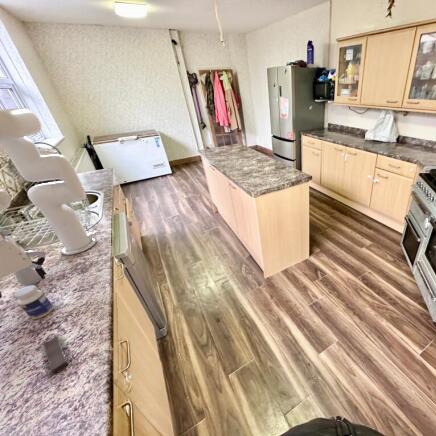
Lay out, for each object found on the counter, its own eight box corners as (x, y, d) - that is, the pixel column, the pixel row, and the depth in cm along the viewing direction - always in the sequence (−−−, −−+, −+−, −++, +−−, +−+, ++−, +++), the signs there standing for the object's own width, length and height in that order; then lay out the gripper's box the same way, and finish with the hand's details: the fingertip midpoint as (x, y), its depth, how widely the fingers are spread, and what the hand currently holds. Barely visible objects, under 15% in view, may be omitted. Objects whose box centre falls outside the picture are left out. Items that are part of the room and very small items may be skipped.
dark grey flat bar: (45, 346, 66) (43, 343, 66) (59, 338, 68) (57, 335, 68) (53, 373, 59) (51, 371, 59) (68, 364, 61) (66, 361, 61)
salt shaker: (29, 288, 87) (7, 261, 81) (18, 287, 88) (-5, 260, 82) (46, 277, 92) (27, 251, 86) (35, 276, 93) (15, 250, 87)
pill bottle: (26, 322, 74) (6, 300, 69) (36, 308, 79) (18, 287, 74) (49, 315, 76) (31, 294, 71) (57, 303, 80) (40, 281, 76)
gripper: (25, 223, 71) (56, 266, 80) (-67, 252, 60) (-20, 298, 68) (29, 231, 67) (61, 275, 76) (-70, 263, 56) (-19, 311, 64)
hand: (22, 286), depth 72 cm, fingers open, 9 cm apart
